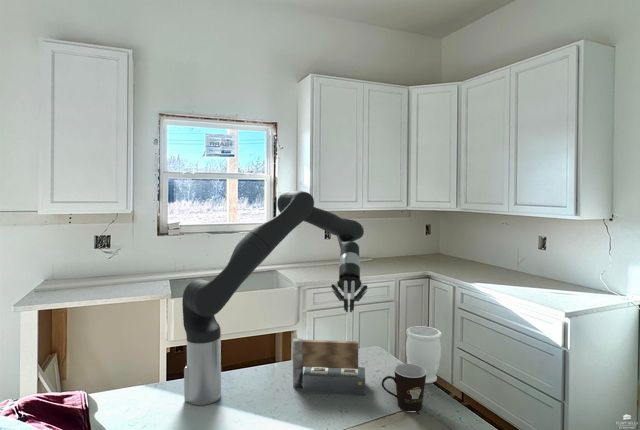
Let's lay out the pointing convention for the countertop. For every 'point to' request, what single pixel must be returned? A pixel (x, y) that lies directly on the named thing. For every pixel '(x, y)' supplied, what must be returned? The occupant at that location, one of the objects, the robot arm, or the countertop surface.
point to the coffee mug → (408, 386)
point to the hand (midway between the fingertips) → (348, 311)
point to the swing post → (297, 377)
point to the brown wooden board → (325, 354)
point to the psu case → (334, 380)
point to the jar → (424, 349)
